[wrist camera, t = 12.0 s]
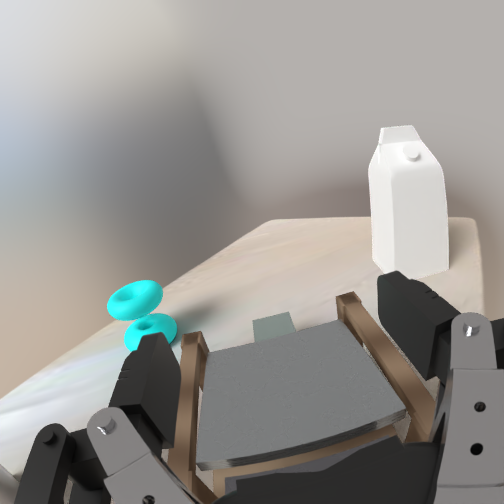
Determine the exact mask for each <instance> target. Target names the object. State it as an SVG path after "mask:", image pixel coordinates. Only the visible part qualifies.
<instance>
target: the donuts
mask: <svg viewBox="0 0 504 504" xmlns="http://www.w3.org/2000/svg"><path fill="white" fill-rule="evenodd" d="M162 297H163V290H162V287H161V286H160V285H159V284H158V283H157V282H155V281H152V280H142V281H137V282H134V283H131V284H128V285H126V286H125V287H122V288H121V289H119V290H118V291H116V292H115V293H114V294H113V295H112V296H111V297H110V299H109V301H108V304H107V308H108V312H109V313H110V315H111V316H112V317H114V318H115V319H118V320H122V321H130V320H135V319H137V320H136V321H135V322H133V323H132V324H131V325H130V326H129V327H128V329H127V331H126V333H125V336H124V342H125V345H126V347H127V348H128V349H129V350H130V351H131V352H132V351H134V350H137V348H138V345H139V342H140V340H141V337H142V336H143V335H147V334H153V333H158V332H163V333H164V335H165V336H166V338H167V341H168V343H169V344H170V343H171V342H172V341H173V339H174V338H175V336H176V333H177V324H176V322H175V320H174V319H173V318H172V317H170V316H168V315H166V314H161V313H155V314H149V313H150V312H152V311H153V310H154V309H155V308H156V307H157V306H158V305H159V304H160V302H161V300H162ZM147 314H149V315H147ZM145 315H146V316H145ZM138 318H139V319H138Z"/></svg>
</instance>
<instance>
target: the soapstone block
mask: <svg viewBox="0 0 504 504" xmlns="http://www.w3.org/2000/svg"><path fill="white" fill-rule="evenodd" d="M253 330H254V339H255V342H258V341H263V340H267V339H271V338H275V337H278V336H282V335H286V334H290V333H294V332H296V331H295V328H294V325H293V322H292V319H291V317H290V314H289V312H286V313H282V314H278V315H274V316H270V317H265V318H261V319H257V320H253Z"/></svg>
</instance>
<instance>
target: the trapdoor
mask: <svg viewBox="0 0 504 504" xmlns="http://www.w3.org/2000/svg"><path fill="white" fill-rule="evenodd" d="M405 414H406V407H405V405H404V404H403V402H402V401H401V400H400V398H399V397H398V395H397V394H396V393H395V391H394V390H393V389H392V387H391V386H390V384H389V383H388V382H387V380H386V379H385V378H384V376H383V375H382V373H381V372H380V371H379V369H378V368H377V367H376V365H375V364H374V363H373V361H372V360H371V359H370V357H369V356H368V354H367V353H366V352H365V350H364V349H363V348H362V346H361V345H360V344H359V342H358V341H357V340H356V338H355V337H354V336H353V334H352V333H351V332H350V330H349V329H348V328H347V326H346V325H345V324H344V323H343V321H342V320H341V319H339V320H335V321H332V322H329V323H325V324H322V325H319V326H315V327H312V328H308V329H305V330H301V331H297V332H294V333H290V334H286V335H282V336H278V337H275V338H271V339H267V340H263V341H258V342H254V343H250V344H246V345H242V346H237V347H233V348H228V349H224V350H219V351H214V352H209V353H207V361H206V369H205V378H204V387H203V395H202V404H201V414H200V423H199V433H198V443H197V454H196V464H197V465H198V467H199V468H200V470H201V471H205V470H215V469H224V468H231V467H238V466H245V465H251V464H257V463H262V462H267V461H272V460H277V459H282V458H286V457H291V456H295V455H299V454H303V453H307V452H310V451H314V450H318V449H321V448H325V447H328V446H331V445H335V444H338V443H341V442H344V441H347V440H350V439H353V438H356V437H358V436H361V435H364V434H367V433H369V432H372V431H375V430H377V429H380V428H382V427H385V426H387V425H389V424H392V423H394V422H396V421H399V420H401V419H403V418H405ZM387 438H390V437H389V435H386V436H384V437H381V438H379V439H376V440H374V441H371V442H368V443H366V444H363V445H360V446H358V447H355V448H352V449H349V450H346V451H343V452H340V453H337V454H333V455H330V456H327V457H323V458H320V459H316V460H313V461H309V462H305V463H301V464H297V465H293V466H289V467H284V468H279V469H275V470H269V471H264V472H259V473H253V474H246V475H240V476H232V477H225V495H226V494H228V493H230V492H232V491H235V490H237V487H236V480H238V479H245V478H251V477H257V476H263V475H268V474H273V473H298V472H317V471H322V470H325V469H327V468H329V467H330V466H332V465H334V464H336V463H338V462H339V461H341V460H343V459H345V458H346V457H348V456H350V455H351V454H353V453H355V452H356V451H358V450H359V449H362V448H365V447H367V446H370V445H372V444H375V443H377V442H380V441H382V440H385V439H387Z"/></svg>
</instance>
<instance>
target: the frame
mask: <svg viewBox="0 0 504 504" xmlns="http://www.w3.org/2000/svg"><path fill="white" fill-rule="evenodd" d="M336 304H337V314H338V320H339V319H341V320H342V321H343V323H344V324H345V325H346V326H347V328H348V329H349V330H350V332H351V333H352V334H353V336H354V337H355V338H356V340H357V341H358V342H359V344H360V345H361V346H362V348H363V342H364V344H365V345H366V347H367V348H368V350H369V351H370V353H371V355H372V356H373V358H374V359H375V361H376V362H377V364H378V365H379V367H380V368H381V370H382V372H383V373H384V375H385V376H386V378H387V379H388V381H389V383H390V384H391V386H392V387H393V389H394V391H395V392H396V394H397V395H398V397H399V398H400V400H401V401H402V402H403V404H404V405H405V407H406V410H407V412H408V413H409V415H410V417H411V418H412V419H411V423H410V426H409V430H408V433H407V436H406V440H405V443H406V442H423V441H424V442H427V441H428V438H429V435H430V431H431V427H432V422H433V417H434V411H435V405H436V402H435V401H434V399H433V398H432V396H431V395H430V394H429V392H428V391H427V389H426V388H425V387H424V385H423V384H422V383H421V381H420V380H419V378H418V377H417V376H416V374H415V373H414V372H413V370H412V369H411V368H410V366H409V365H408V364H407V362H406V361H405V360H404V358H403V357H402V356H401V354H400V353H399V352H398V350H397V349H396V348H395V346H394V345H393V344H392V342H391V341H390V340H389V339H388V337H387V336H386V335H385V333H384V332H383V331H382V330H381V328H380V327H379V326H378V325H377V323H376V322H375V321H374V319H373V318H372V317H371V316H370V314H369V313H368V312H367V311H366V309H365V308H364V307H363V306H362V304H361V300H360V298H359V297H358V296H357V295H356V294H355V292H354V291H353V292H349V293H346V294H343V295H339V296H336ZM181 349H182V355H181V362H180V370H181V387H180V395H179V403H178V412H177V421H176V431H175V441H174V448H170V449H169V453H168V463H167V464H168V466H169V467H170V468H171V469H172V470H173V472H174V473H175V474H176V475H177V476H178V477H179V479H180V480H181V481H182V482H183V483H184V484H185V485H186V486H187V488H188V489H189V490H190V491H191V492H192V493H193V494H194V495H195V496H196V497H197V498H198V499H199V500H200V501H201V502H202V503H203V504H211V503H212V502H214V501H215V500H217V499H218V498H220V497H222V496H224V495H225V477H232V476H240V475H246V474H253V473H259V472H264V471H269V470H275V469H279V468H284V467H289V466H293V465H297V464H301V463H305V462H309V461H313V460H316V459H320V458H323V457H327V456H330V455H333V454H337V453H340V452H343V451H346V450H349V449H352V448H355V447H358V446H360V445H363V444H366V443H368V442H371V441H374V440H376V439H379V438H381V437H384V436H386V435H389V437H392V436H394V435H397V433H396V431H395V429H394V427H393V425H392V424H389V425H387V426H385V427H382V428H380V429H377V430H375V431H372V432H369V433H367V434H364V435H361V436H358V437H356V438H353V439H350V440H347V441H344V442H341V443H338V444H335V445H331V446H328V447H325V448H321V449H318V450H314V451H310V452H307V453H303V454H299V455H295V456H291V457H286V458H282V459H277V460H272V461H267V462H262V463H257V464H251V465H245V466H238V467H231V468H224V469H215V470H213V490H214V493H213V492H212V491H211V490H210V489H209V488H208V487H207V486H206V485H205V484H204V483H203V482H202V481H201V480H200V479H199V478H198V477H197V476H196V442H197V418H198V399H199V386H200V388H201V390H202V392H203V387H204V378H205V369H206V361H207V353H209V349H208V347H207V344H206V342H205V340H204V337H203V335H202V332H201V331H198V332H193V333H189V334H184V335H182V341H181ZM397 436H398V435H397ZM398 438H399V437H398ZM399 439H400V438H399ZM400 441H401V440H400ZM401 443H402V442H401Z"/></svg>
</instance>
